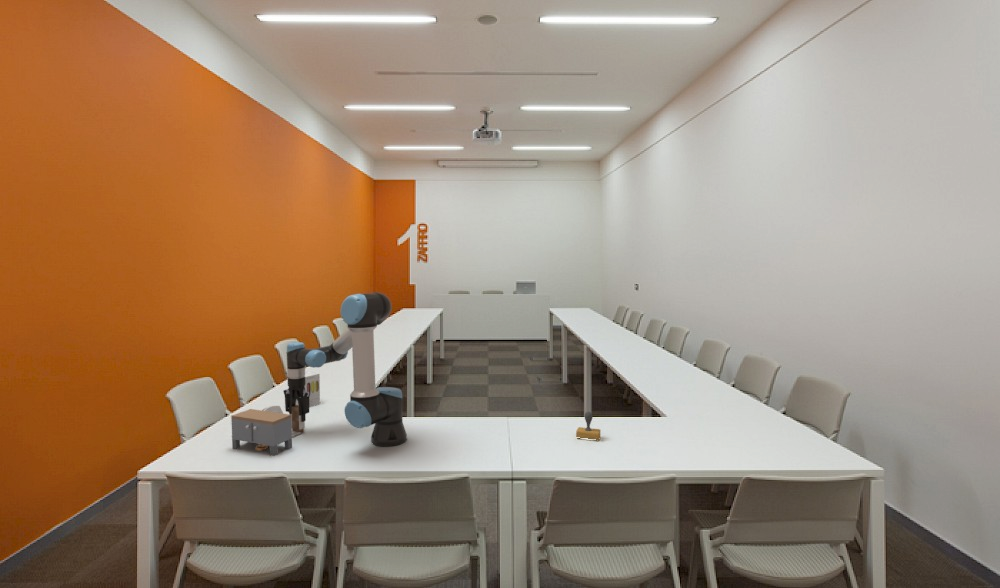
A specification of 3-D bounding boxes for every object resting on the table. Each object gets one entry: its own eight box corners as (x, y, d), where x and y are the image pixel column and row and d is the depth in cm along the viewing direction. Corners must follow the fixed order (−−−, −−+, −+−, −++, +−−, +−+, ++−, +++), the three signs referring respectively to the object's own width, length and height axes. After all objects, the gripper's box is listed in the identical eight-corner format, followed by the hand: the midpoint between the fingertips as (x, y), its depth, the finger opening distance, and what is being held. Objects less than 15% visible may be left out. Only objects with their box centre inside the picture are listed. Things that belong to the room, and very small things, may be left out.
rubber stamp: (575, 439, 231) (576, 412, 231) (578, 434, 237) (578, 408, 236) (598, 441, 228) (599, 414, 227) (600, 437, 234) (600, 410, 233)
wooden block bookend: (305, 432, 239) (305, 406, 238) (270, 447, 220) (270, 419, 219) (295, 430, 241) (294, 404, 240) (259, 445, 222) (258, 417, 221)
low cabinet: (292, 447, 220) (291, 414, 219) (272, 456, 210) (271, 422, 209) (251, 440, 227) (250, 408, 226) (230, 449, 217) (229, 416, 216)
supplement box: (306, 408, 275) (305, 376, 274) (294, 405, 279) (293, 374, 278) (320, 404, 283) (320, 373, 282) (308, 401, 288) (308, 371, 286)
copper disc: (269, 447, 220) (269, 445, 220) (261, 451, 216) (261, 448, 215) (261, 446, 221) (261, 443, 221) (253, 450, 217) (253, 447, 217)
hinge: (267, 432, 238) (260, 411, 238) (259, 435, 239) (251, 414, 239) (288, 420, 255) (281, 401, 255) (280, 423, 256) (273, 403, 256)
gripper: (317, 376, 237) (318, 427, 238) (287, 373, 243) (289, 423, 245) (305, 380, 230) (307, 432, 232) (275, 377, 236) (276, 428, 238)
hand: (297, 427), depth 238 cm, fingers closed on wooden block bookend, 4 cm apart
